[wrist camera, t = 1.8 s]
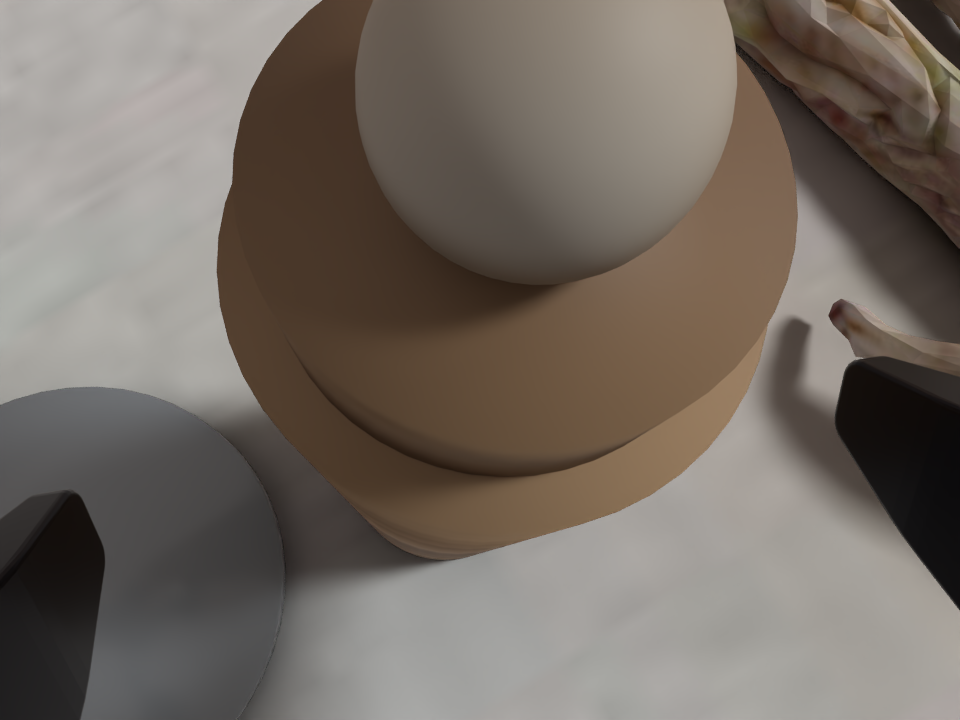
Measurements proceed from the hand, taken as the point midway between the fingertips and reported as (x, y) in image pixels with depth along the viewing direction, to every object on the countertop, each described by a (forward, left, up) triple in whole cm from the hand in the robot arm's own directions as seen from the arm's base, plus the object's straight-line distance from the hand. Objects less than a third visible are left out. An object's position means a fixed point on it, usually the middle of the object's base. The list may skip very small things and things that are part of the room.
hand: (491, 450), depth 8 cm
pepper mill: (+1, 0, -9) cm, 9 cm away
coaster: (-2, +8, -9) cm, 12 cm away
